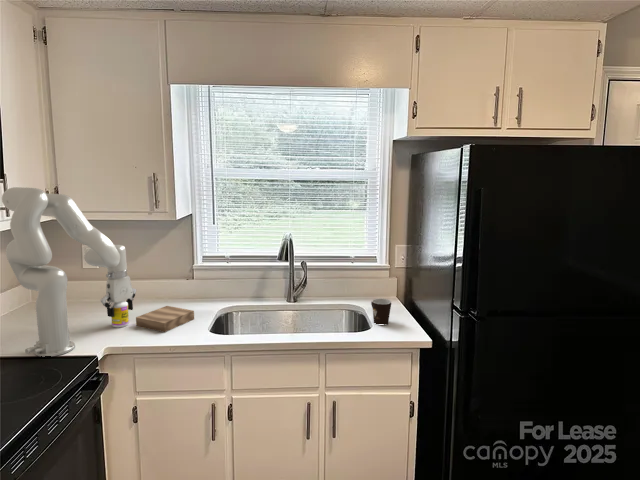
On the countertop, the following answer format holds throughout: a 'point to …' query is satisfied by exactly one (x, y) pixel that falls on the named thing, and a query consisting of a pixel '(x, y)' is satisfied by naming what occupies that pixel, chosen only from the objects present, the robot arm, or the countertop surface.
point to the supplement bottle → (120, 314)
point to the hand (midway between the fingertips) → (120, 312)
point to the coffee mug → (381, 310)
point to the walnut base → (165, 318)
